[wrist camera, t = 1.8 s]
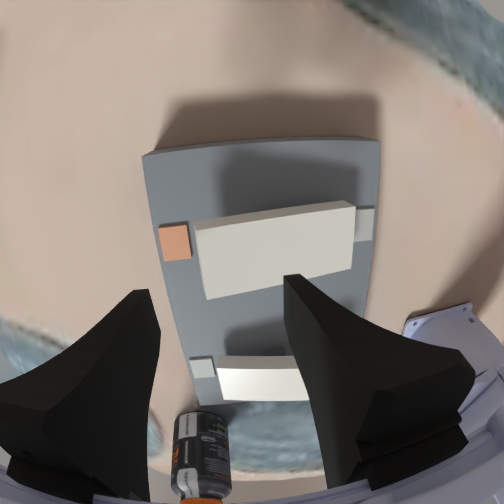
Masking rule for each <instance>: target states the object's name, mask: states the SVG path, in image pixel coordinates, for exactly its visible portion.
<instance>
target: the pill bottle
mask: <svg viewBox="0 0 504 504" xmlns="http://www.w3.org/2000/svg"><path fill="white" fill-rule="evenodd" d="M171 488H172V490H173V491H174V493H175V494H177V495H178V496H180V497H181V501H180V504H223V502H222V500H221V499H223V498H225V497H227V496H228V495H229V494H230V492H231V490H232V485H231V472H230V457H229V441H228V429H227V424H226V422H225V421H224V420H223V419H222V418H220V417H218V416H216V415H213V414H209V413H203V412H193V413H187V414H184V415H181V416H180V417H178V418H177V419H176V420H175V422H174V434H173V451H172V470H171Z"/></svg>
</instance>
